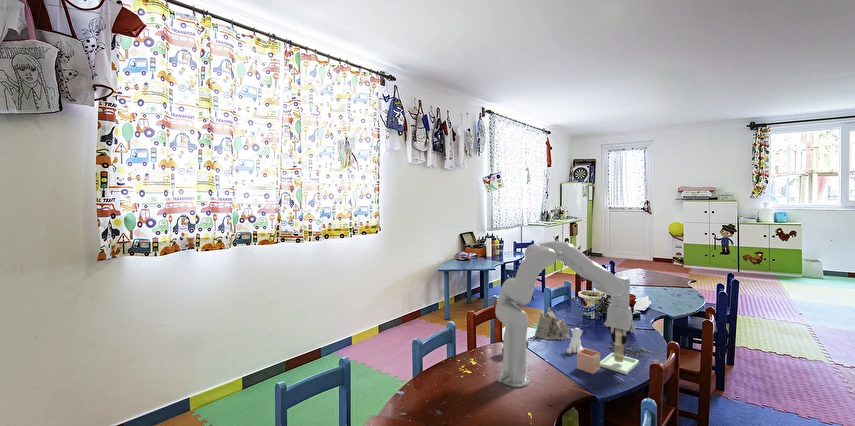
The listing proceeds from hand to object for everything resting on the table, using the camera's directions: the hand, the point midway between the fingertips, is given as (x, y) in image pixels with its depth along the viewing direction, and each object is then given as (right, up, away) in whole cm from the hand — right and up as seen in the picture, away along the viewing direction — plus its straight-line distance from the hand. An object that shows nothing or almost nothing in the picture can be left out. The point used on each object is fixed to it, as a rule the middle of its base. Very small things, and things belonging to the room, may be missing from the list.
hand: (619, 342), depth 175 cm
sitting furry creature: (-14, -11, +16) cm, 24 cm away
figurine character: (-45, -11, +16) cm, 49 cm away
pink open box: (-16, -11, -3) cm, 20 cm away
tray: (0, -11, +1) cm, 11 cm away
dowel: (0, -9, 0) cm, 9 cm away
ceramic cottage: (-19, -10, +38) cm, 44 cm away
